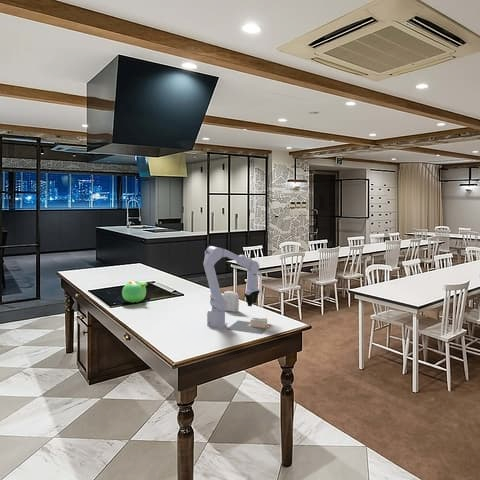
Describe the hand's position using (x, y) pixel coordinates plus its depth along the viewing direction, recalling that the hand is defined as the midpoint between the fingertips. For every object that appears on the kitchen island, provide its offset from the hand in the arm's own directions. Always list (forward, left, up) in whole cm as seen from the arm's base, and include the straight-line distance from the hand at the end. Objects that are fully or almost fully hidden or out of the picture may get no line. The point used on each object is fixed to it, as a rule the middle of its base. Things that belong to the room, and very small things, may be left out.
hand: (252, 304), depth 230 cm
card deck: (+7, -9, -9) cm, 14 cm away
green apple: (-87, +9, -10) cm, 88 cm away
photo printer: (-19, +14, -10) cm, 26 cm away
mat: (+3, -13, -9) cm, 16 cm away
